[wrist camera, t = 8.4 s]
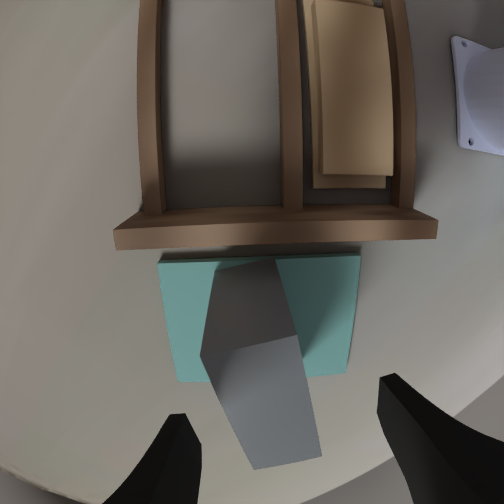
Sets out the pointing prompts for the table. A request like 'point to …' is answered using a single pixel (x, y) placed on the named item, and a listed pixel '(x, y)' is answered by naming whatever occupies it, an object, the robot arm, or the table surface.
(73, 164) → the table surface
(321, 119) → the upper offcut board
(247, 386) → the gray rectangular block
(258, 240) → the walnut rack
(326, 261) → the teal mat
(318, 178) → the lower offcut board
